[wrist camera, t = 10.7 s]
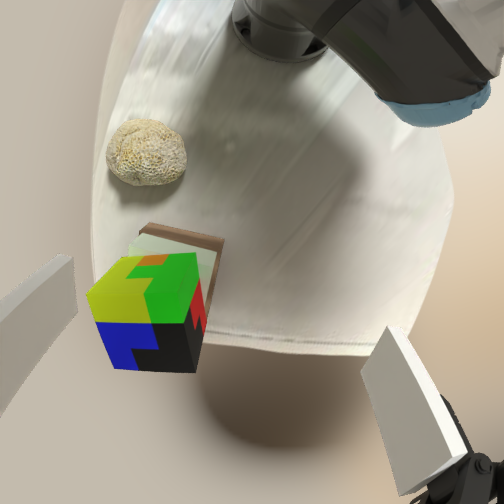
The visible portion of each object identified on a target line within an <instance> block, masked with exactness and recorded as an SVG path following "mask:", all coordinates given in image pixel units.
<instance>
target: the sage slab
mask: <svg viewBox="0 0 504 504" xmlns="http://www.w3.org/2000/svg"><path fill="white" fill-rule="evenodd" d="M191 252H196V255H197V263H198V270H199V277H200V283H201V290H202V296H203V302H204V306H205V302H206V297H207V293H208V289H209V284H210V280H211V276H212V272H213V267H214V263H215V259H216V255H217V252H215V251H211V250H207V249H203V248H199V247H195V246H191V245H188V244H184V243H180V242H176V241H172V240H168V239H164V238H160V237H156V236H153V235H149V234H145V233H142V234H140V235H139V236H138V237H137V238H136V239H135V240H134V241H133V242H132V243H131V244H130V245H129V249H128V257H130V256H146V255H162V254H175V253H191Z"/></svg>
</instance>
